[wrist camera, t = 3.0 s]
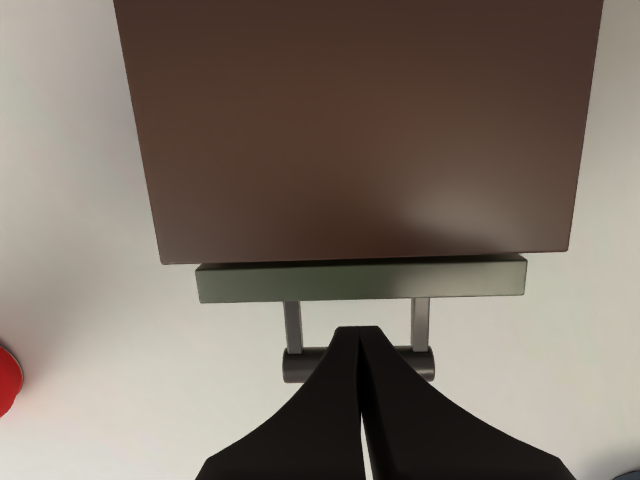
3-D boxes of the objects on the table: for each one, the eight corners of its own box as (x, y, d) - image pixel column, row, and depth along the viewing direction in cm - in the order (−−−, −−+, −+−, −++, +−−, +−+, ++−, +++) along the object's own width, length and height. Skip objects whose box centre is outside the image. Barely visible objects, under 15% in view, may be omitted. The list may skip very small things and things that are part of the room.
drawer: (456, 327, 19) (510, 420, 13) (255, 331, 20) (217, 421, 14) (479, -75, 14) (584, -230, 8) (211, -53, 15) (123, -179, 9)
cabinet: (469, 200, 18) (569, 253, 10) (234, 209, 19) (160, 265, 11) (492, -153, 14) (677, -498, 6) (195, -123, 15) (38, -400, 7)
